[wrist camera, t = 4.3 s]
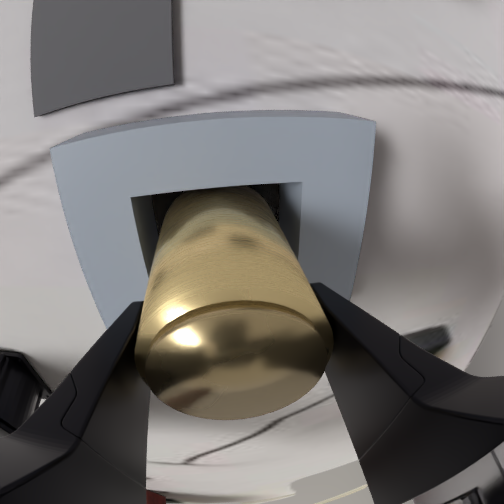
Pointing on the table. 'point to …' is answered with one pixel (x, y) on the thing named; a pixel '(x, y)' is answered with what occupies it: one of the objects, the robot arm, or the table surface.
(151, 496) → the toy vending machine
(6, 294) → the table surface
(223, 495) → the table surface
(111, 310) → the housing
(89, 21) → the pad
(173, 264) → the gold metal cylinder
